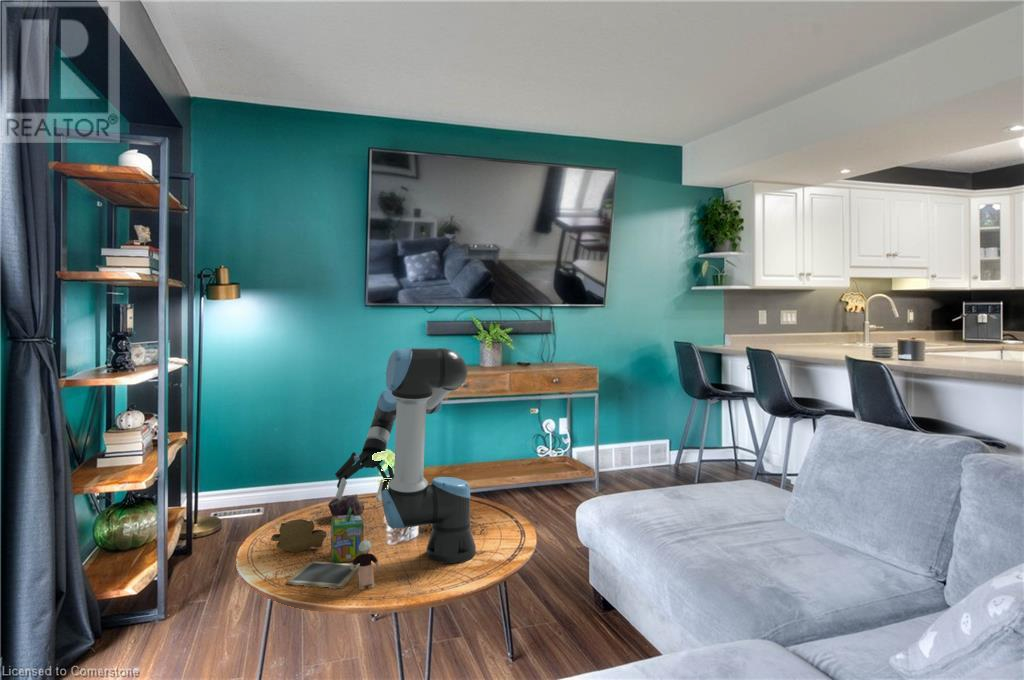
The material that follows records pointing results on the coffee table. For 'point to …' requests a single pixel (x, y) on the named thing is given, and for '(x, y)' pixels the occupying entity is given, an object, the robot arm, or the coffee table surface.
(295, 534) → the wooden carving
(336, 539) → the chalk box
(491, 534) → the coffee table surface
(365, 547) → the grandmother figurine
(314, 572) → the chalkboard
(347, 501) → the rock
